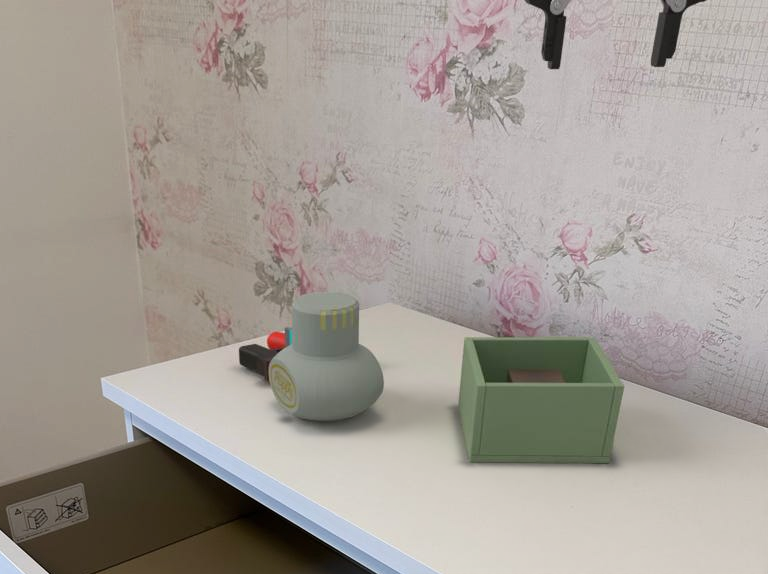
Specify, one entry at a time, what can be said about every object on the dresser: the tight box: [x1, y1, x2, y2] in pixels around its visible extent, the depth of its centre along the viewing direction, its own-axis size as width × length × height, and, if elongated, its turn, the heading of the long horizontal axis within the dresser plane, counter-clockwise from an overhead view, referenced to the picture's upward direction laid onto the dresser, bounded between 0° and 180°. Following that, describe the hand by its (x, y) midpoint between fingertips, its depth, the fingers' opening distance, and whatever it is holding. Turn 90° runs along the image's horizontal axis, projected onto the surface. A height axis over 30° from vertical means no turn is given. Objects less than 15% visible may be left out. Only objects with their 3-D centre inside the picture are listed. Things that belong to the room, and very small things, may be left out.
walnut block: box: [506, 369, 565, 383], centre depth 81 cm, size 4×4×4 cm
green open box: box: [457, 336, 625, 464], centre depth 81 cm, size 11×11×7 cm
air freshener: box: [268, 291, 385, 422], centre depth 85 cm, size 11×8×10 cm
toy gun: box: [238, 326, 292, 383], centre depth 96 cm, size 10×12×5 cm
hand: (604, 67), depth 79 cm, fingers open, 8 cm apart
